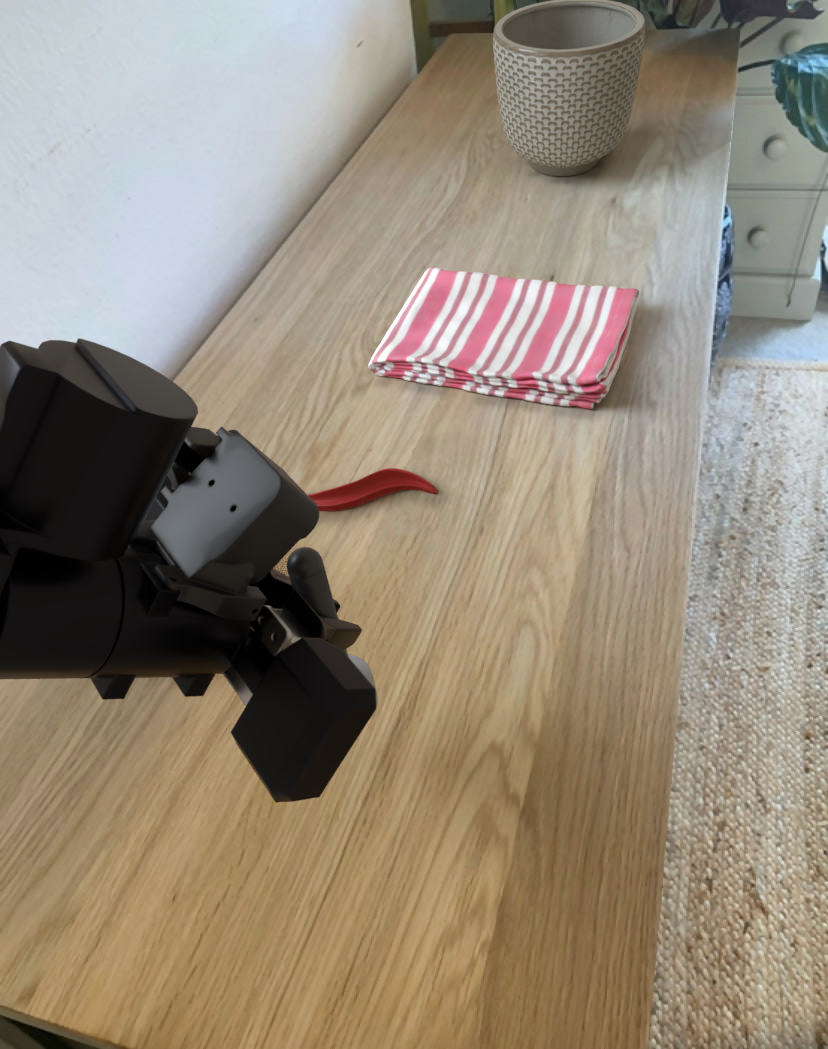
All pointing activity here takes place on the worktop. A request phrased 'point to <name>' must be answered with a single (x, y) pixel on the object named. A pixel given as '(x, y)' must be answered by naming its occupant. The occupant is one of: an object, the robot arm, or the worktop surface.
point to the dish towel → (509, 337)
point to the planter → (567, 80)
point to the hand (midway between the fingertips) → (346, 622)
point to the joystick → (318, 593)
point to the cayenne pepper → (370, 489)
